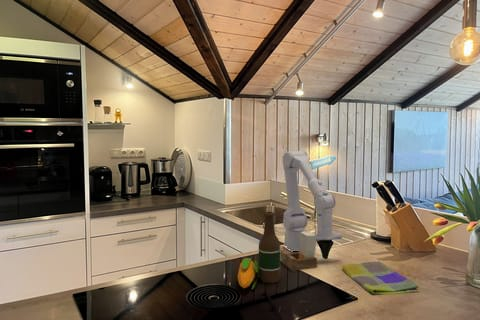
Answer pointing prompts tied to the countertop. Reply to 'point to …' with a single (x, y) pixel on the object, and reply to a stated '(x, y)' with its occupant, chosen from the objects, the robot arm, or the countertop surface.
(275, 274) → the beer bottle
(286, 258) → the caddy
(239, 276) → the corn
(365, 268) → the dish towel
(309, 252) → the skincare box
